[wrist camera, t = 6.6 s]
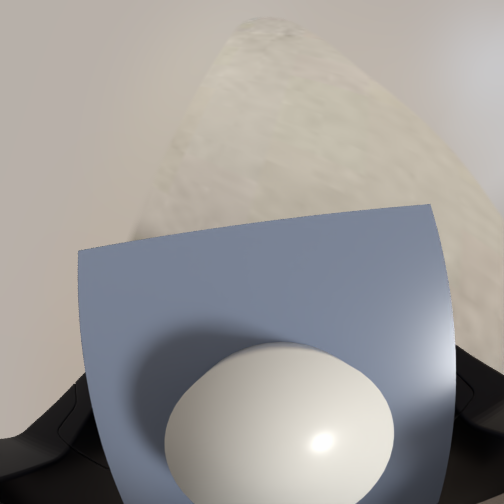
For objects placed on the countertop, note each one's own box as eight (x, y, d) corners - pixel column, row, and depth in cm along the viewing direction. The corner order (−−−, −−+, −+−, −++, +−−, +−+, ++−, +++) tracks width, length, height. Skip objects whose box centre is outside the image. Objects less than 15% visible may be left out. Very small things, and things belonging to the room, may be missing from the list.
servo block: (317, 373, 15) (459, 523, 1) (232, 383, 15) (124, 562, 1) (307, 290, 16) (460, 179, 2) (222, 301, 16) (42, 236, 3)
